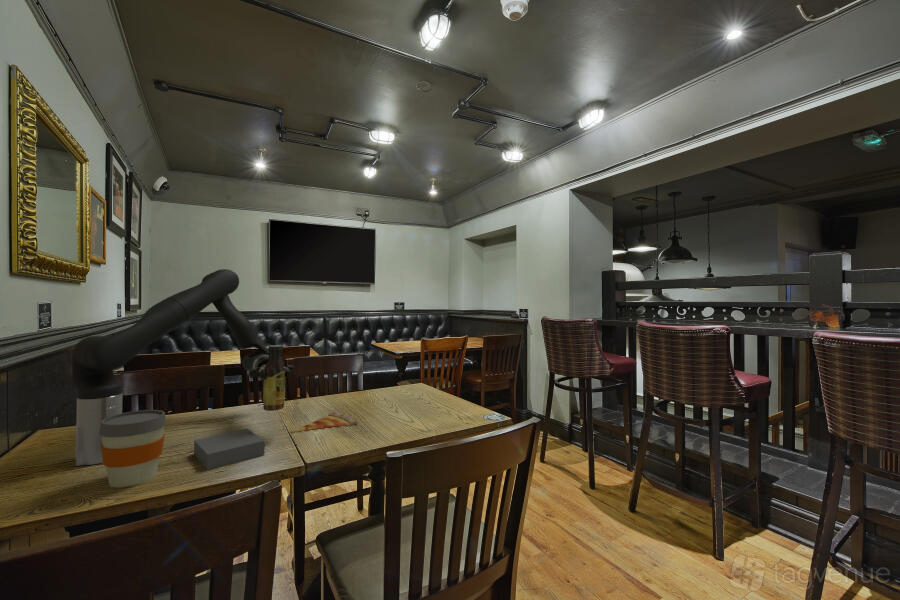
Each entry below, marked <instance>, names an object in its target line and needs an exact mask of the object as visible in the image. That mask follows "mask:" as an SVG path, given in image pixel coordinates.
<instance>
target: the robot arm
mask: <svg viewBox="0 0 900 600" xmlns="http://www.w3.org/2000/svg"><path fill="white" fill-rule="evenodd" d="M239 285H240V277H239V276H238V274H237V273H236V272H235V271H233V270H231V269H228V268H225V269H224V268H223V269H222V268H221V269H218V270H215V271H212V272H211V273H208V274H206V275H204V276H203V278H202V280H201V283H198V284H197V285H194V286H191V287H190V288H187V289H184V290H182V291H179V292H176V293H174V294H172V295H170V296H168V297H166V298H164V299H162V300H160V301H159V302H157V303H155V304H153V305H152V306H151V307H149V308H148V309H147V310H146V311H145V313H144V314H143V315H142V316H141V317H140V319H139V320H138V321H137V322H136V323H135V324H132V326H130V327H128V328H126V329H124V330H122V331H120V332H119V333H116V334H114V335H111V336H101V335H92V336H87V337H85V338H82V339H81V340H79V341H78V342H77V344H76V345H74V348H73V351H72V355H71V369H72V370H71V371H72V374H71V375H72V385H73V387H74V390H75V392H76V424H75V457H74V458H75V466H76V467H80V466H91V465H97V464H103V458H102V452H101V445H102V444H103V442H102V436H101V435H99V433H100V426H101V421H102V420H103V419H105V418H107V417H110V416H113V415H117V414H121V413H123V383H122V382H121V381H119V380H118V378H117V377H116V376H115V374H114V370H117V369H119V368H121V367H123V366H124V365H126V364H127V363H129V361H131V360H132V359H134V357H136V356H137V355H138V354H139V353H141V352H142V351H143V350H145V349H146V348H148V346H150V345H151V344H153V343H154V342H156V341H158V340H159V339H161V338H163V337H164V336H166V335H167V334H168V333H171V332H172V331H173V330H175V329H177V328H179V327H180V326H182V325H184V324H185V323H187V322H188V321H190V320H191V319H192V318H193V317H195V316H196V315H198V314H199V313H201V312H202V311H203V310H204V309H206V308H207V307H208V306H209V305H211V304H213V305H214V308H216V310H217V311H218V313H219V314H220V315H221V317H222V319H223V320H224V321H225V323H226V324H227V326H228V328H229V329H230V331H231V333H232V335H233V337H234V339H235V341H236V344H238V346H239V348H240V349H241V350H247V349H251V348H256V349H257V350H255V351H253V352H251V353H249V354H247V355H245V356H244V357H243V358H242V361H241V364H242V367H243V369H244V370H245V371H246V375H247V377H248V378H251V379H252V380H253V379H256V378H258V379H261V380H263V381H264V379H266V372H265V371H264V369H265V366H266V364H267V363H268V361H269V350H268V348H267V347H266V345H264V344H263V342H262V340H260V338H259V336H258V334H257V333H256V331H255V328H254V326H253V324H252V322H251V321H250V320H249V319H248V318H247V316H245V315H244V314H243V312H241V311H240V310H239V309H237V307H235V305H234V304H233V302H232V301H231V299H230V294H233V293H234V292H236V290H238V287H239ZM284 367H285V370H286V374H285V378H290V376H293V375H294V374H295V372H294V369H295V366H294V365H293V364H288V365H286V366H284Z"/></svg>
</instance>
